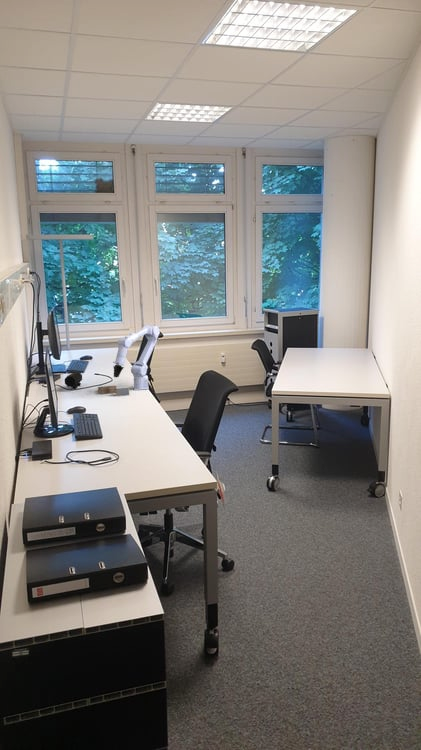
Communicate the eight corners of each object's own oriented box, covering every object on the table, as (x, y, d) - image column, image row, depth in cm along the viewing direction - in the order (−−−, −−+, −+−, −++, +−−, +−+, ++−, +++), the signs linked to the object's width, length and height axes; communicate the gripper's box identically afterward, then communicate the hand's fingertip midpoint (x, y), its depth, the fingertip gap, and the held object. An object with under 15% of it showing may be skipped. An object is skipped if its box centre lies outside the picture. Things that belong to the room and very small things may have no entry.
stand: (116, 388, 366) (116, 385, 365) (118, 392, 354) (118, 389, 354) (98, 390, 363) (98, 386, 362) (99, 394, 351) (99, 390, 351)
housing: (128, 393, 352) (128, 386, 351) (129, 395, 348) (128, 387, 347) (115, 394, 350) (114, 387, 349) (115, 396, 346) (115, 388, 345)
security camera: (84, 385, 377) (83, 371, 375) (75, 391, 359) (74, 376, 357) (74, 385, 378) (73, 371, 376) (64, 391, 360) (63, 376, 358)
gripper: (113, 355, 355) (108, 375, 354) (116, 354, 341) (111, 375, 340) (124, 358, 357) (119, 378, 356) (127, 357, 343) (122, 377, 342)
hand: (115, 377), depth 348 cm, fingers open, 7 cm apart
